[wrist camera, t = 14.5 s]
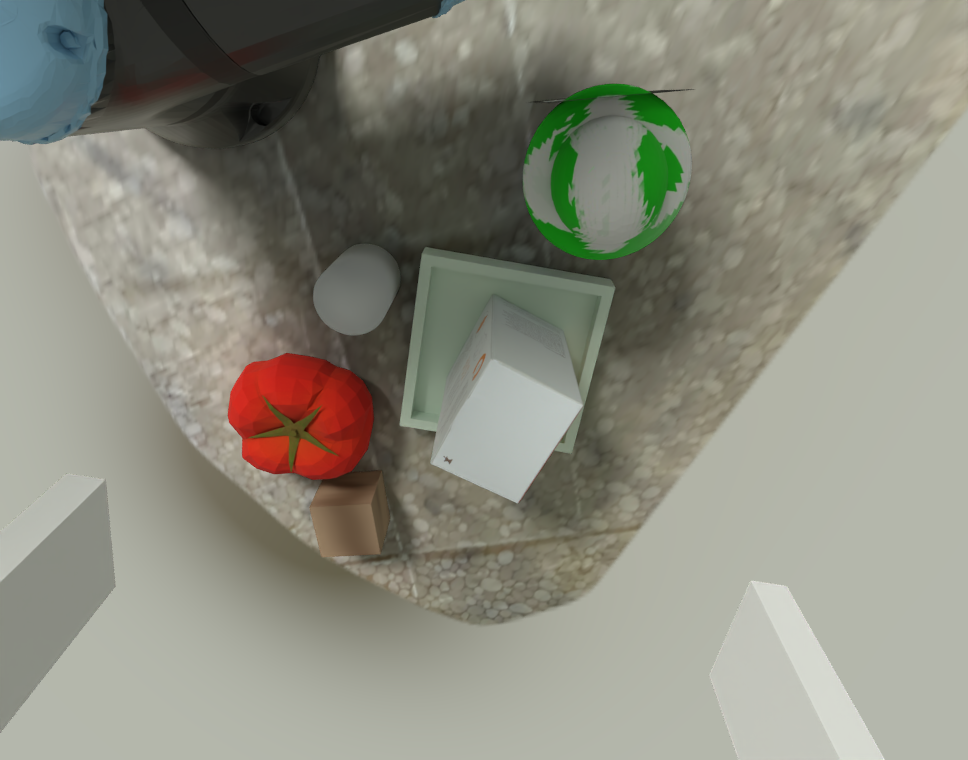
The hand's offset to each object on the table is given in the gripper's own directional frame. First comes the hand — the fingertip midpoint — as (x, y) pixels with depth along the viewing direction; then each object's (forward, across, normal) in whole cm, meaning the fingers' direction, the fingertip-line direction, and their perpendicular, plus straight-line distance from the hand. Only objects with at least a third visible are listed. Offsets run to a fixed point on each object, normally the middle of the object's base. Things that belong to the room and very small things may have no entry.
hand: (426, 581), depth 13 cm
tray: (+37, +3, -9) cm, 38 cm away
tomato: (+37, -12, -16) cm, 42 cm away
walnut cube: (+37, -7, -25) cm, 45 cm away
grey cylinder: (+37, -8, -5) cm, 38 cm away
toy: (+37, +6, +6) cm, 38 cm away
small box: (+36, +3, -9) cm, 37 cm away
